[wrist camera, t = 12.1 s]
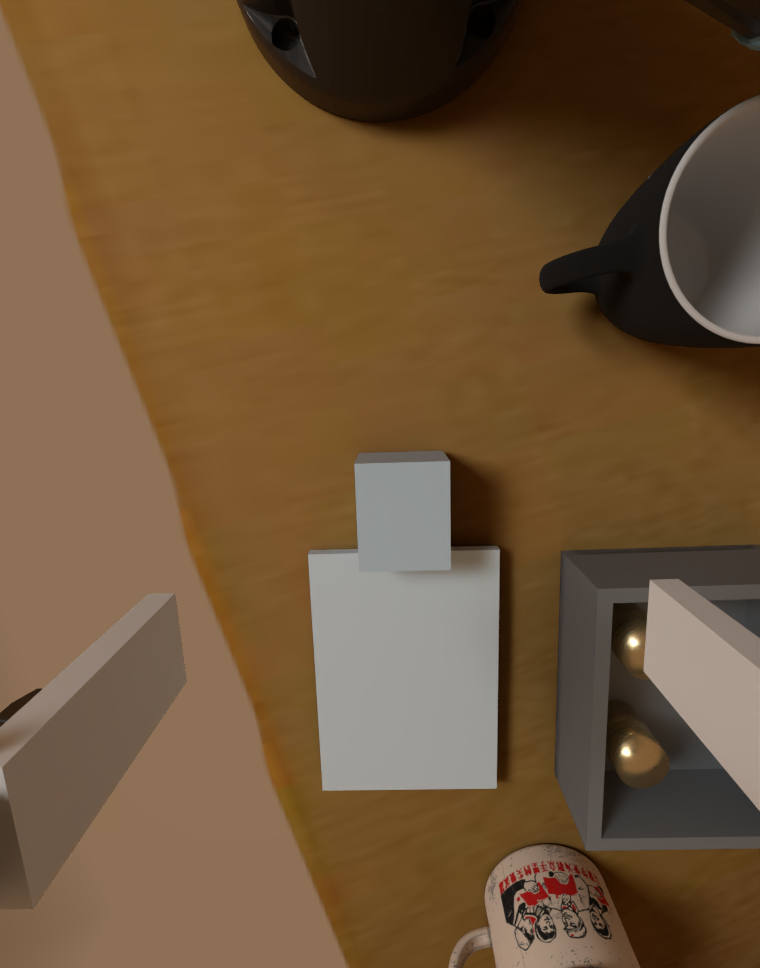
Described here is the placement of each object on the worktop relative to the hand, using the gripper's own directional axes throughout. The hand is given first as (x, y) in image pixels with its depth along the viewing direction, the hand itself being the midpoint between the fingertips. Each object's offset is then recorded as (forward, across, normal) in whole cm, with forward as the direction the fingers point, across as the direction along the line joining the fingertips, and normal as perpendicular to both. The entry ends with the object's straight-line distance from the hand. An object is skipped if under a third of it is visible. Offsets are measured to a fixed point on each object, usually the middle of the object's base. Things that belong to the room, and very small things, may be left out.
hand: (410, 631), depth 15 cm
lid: (+18, 0, -9) cm, 20 cm away
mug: (+18, +13, +12) cm, 25 cm away
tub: (+18, +16, -12) cm, 27 cm away
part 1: (+17, +13, -9) cm, 23 cm away
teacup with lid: (+18, +8, -30) cm, 36 cm away
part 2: (+17, +13, -16) cm, 27 cm away
